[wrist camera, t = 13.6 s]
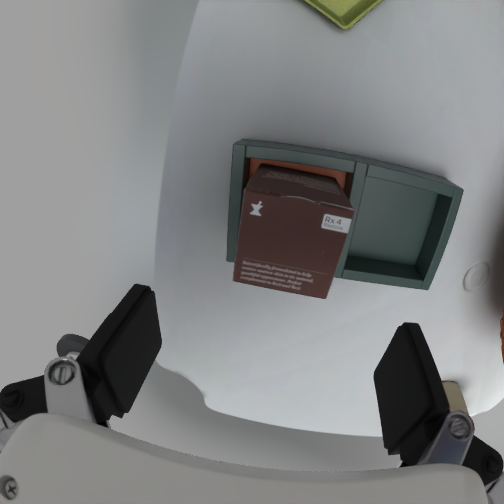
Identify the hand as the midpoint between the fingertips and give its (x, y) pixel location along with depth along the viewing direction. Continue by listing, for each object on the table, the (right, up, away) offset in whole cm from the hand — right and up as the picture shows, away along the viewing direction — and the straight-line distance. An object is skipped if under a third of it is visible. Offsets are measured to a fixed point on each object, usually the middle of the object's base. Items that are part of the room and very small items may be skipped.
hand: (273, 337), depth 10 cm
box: (+2, +7, +12) cm, 14 cm away
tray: (+7, +7, +12) cm, 16 cm away
